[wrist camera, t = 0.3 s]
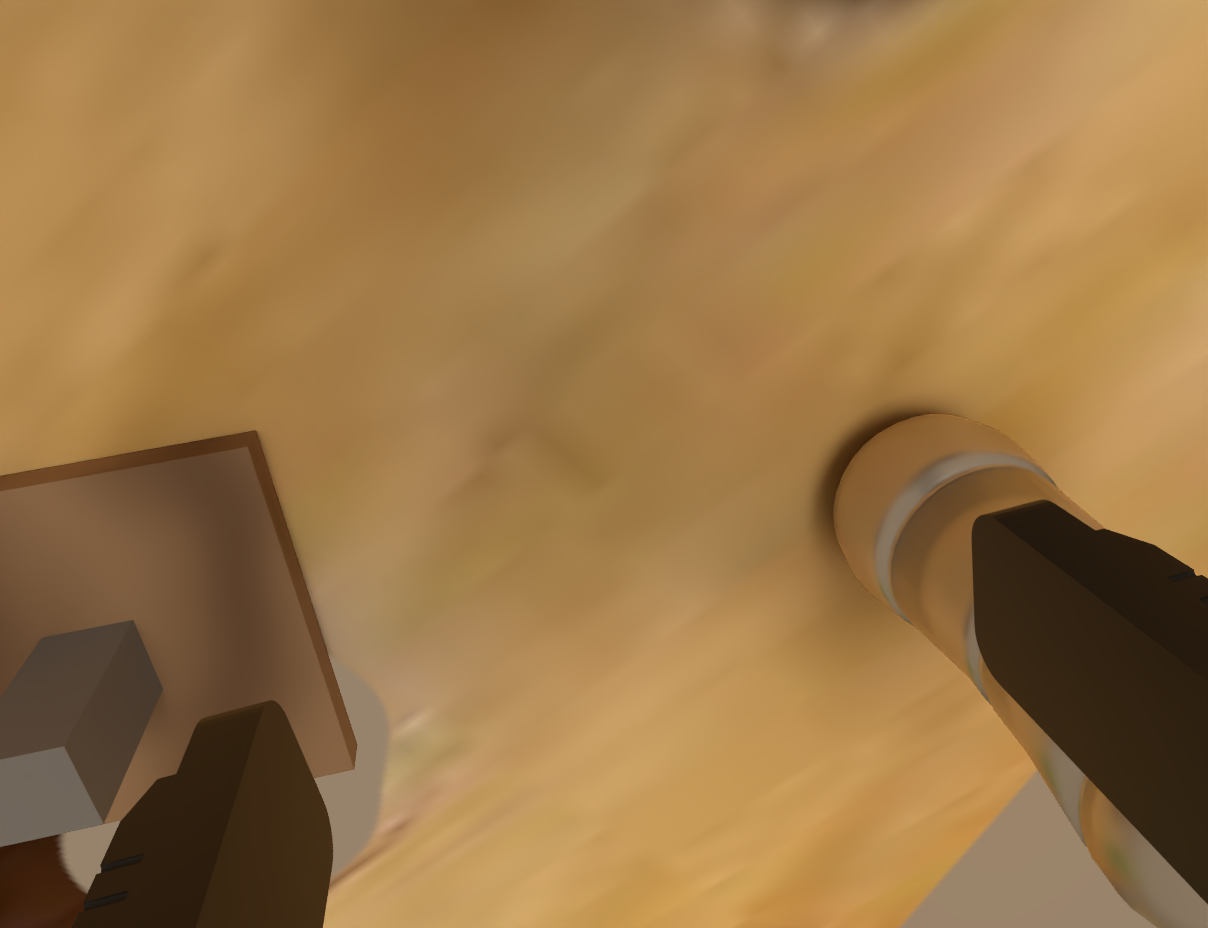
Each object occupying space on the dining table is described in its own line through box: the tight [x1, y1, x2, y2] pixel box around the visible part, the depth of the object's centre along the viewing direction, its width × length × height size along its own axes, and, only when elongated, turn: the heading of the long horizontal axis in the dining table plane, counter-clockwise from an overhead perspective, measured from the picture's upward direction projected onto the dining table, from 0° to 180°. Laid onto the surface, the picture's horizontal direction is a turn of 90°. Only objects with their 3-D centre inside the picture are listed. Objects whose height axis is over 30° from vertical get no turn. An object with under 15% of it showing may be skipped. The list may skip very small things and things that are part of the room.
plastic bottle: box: [833, 414, 1208, 928], centre depth 21 cm, size 6×7×20 cm
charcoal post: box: [0, 620, 163, 847], centre depth 24 cm, size 3×3×5 cm
